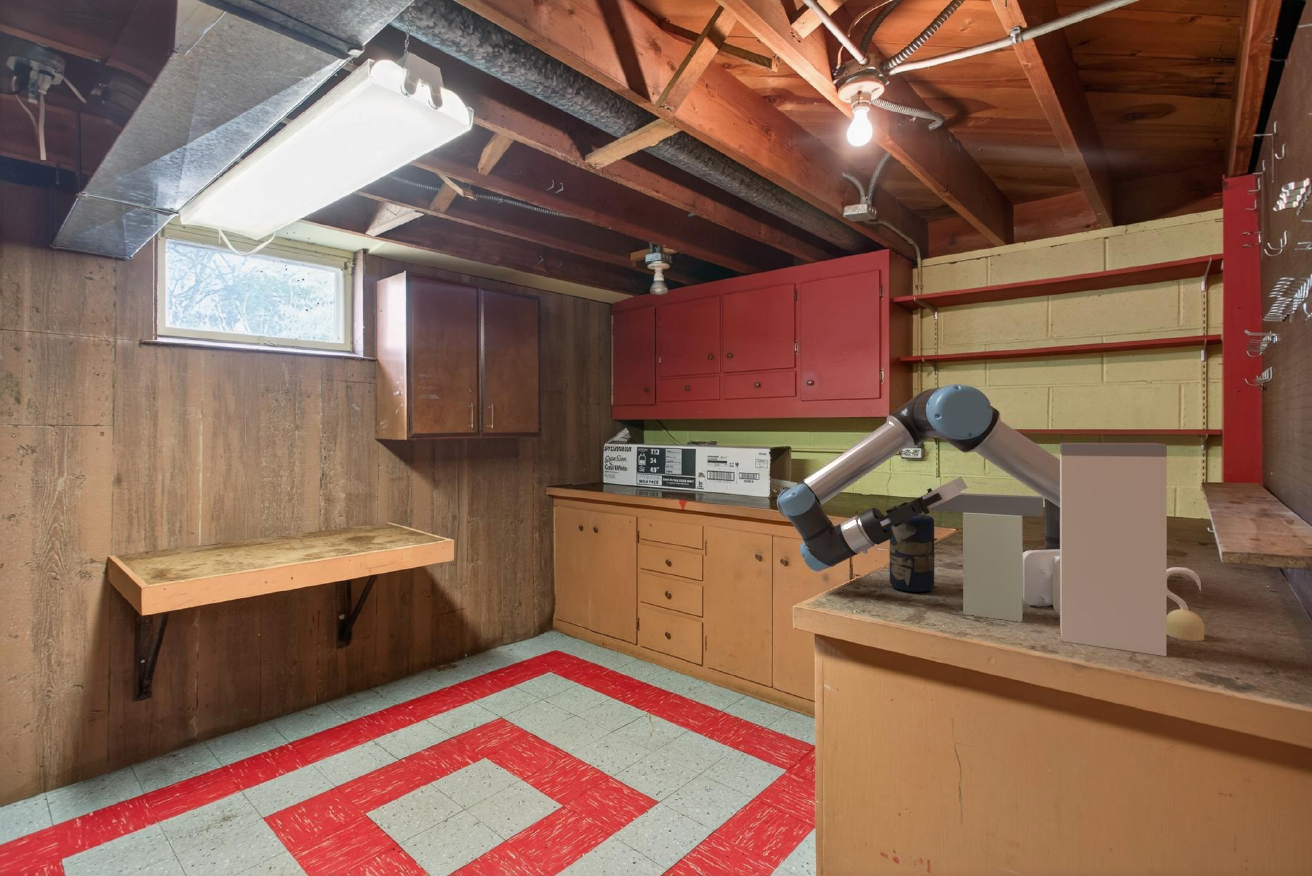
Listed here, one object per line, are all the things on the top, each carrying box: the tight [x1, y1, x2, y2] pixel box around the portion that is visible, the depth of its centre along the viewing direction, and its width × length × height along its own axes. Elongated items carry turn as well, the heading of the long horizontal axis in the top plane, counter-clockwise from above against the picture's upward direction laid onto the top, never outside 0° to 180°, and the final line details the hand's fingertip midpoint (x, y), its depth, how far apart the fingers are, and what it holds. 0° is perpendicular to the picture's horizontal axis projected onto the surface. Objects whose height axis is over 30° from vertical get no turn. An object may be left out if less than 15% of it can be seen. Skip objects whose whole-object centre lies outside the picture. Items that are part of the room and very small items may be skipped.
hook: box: [1166, 566, 1205, 642], centre depth 108 cm, size 6×5×12 cm
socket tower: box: [1059, 442, 1168, 657], centre depth 105 cm, size 8×14×34 cm, turn 58°
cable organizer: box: [1023, 549, 1060, 615], centre depth 123 cm, size 15×11×12 cm
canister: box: [888, 513, 935, 593], centre depth 141 cm, size 10×10×18 cm
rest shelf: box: [962, 512, 1024, 623], centre depth 122 cm, size 7×10×20 cm
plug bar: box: [927, 492, 1044, 518], centre depth 122 cm, size 4×20×4 cm, turn 58°
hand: (961, 484), depth 124 cm, fingers open, 13 cm apart
